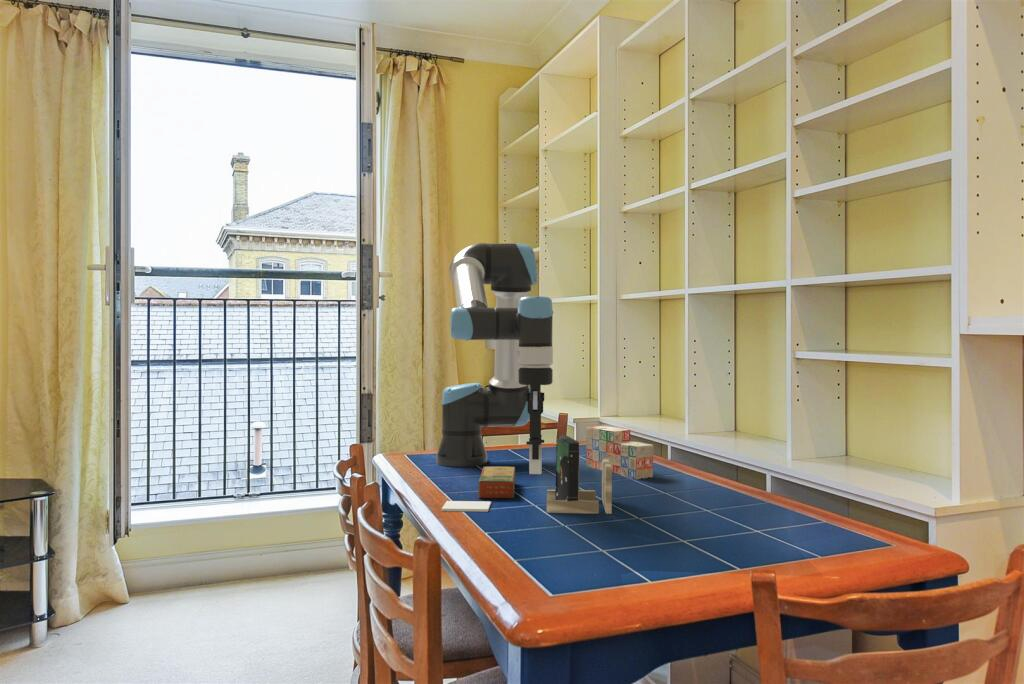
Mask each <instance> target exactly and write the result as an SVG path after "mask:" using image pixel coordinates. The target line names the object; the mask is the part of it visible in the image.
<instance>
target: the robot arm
mask: <svg viewBox="0 0 1024 684" xmlns="http://www.w3.org/2000/svg"><path fill="white" fill-rule="evenodd" d="M449 266H450V267H449V278H450V281H451V283H452V284H453V285H454V292H455V293H454V295H455V301H456V303H455V304H456V307H453V308H452V309H451V310H450V314H449V315H450V316H449V317H450V318H449V320H450V321H449V323H450V324H449V326H450V327H449V328H450V330H449V331H450V337H451V338H452V339H454V340H463V341H466V342H467V341H483V340H484V341H485V340H487V341H491V340H492V341H493V340H494V371H493V372H494V374H493V375H494V376H493V377H491V379H489V381H488V387H483V385H482V384H481V382H472V383H463V384H456V385H450V386H447V387H445V388H444V389H443V390H442V395H441V396H442V397H441V398H442V399H441V405H442V406H441V407H442V409H441V411H442V413H441V414H442V415H441V416H442V417H441V421H442V422H441V439H440V443H439V445H438V450H437V452H436V456H435V461H436V462H435V463H436V464H437V465H440V466H443V467H454V468H456V467H457V468H466V467H467V468H468V467H477V466H482V465H486V464H487V463H488V454H487V450H486V446H485V444H484V440H483V437H482V428H484V427H485V428H487V427H488V428H492V427H493V428H494V427H497V428H498V427H511V428H514V427H524V426H526V425H527V424H528V423H529V438H528V441H526V443H525V444H526V445H528V446H529V447H528V449H529V451H528V453H529V456H528V457H529V458H528V459H529V460H528V462H529V463H528V470H529V471H528V472H529V475H542V473H543V472H542V471H543V470H542V468H543V467H542V462H543V461H542V457H543V456H542V455H543V453H542V452H543V451H542V449H543V448H542V445H543V444H544V443H545V439H543V438H542V437H543V435H542V414H543V413H544V401H545V392H542V391H541V386H549V385H552V384H553V380H554V379H553V368H552V367H551V366H552V365H553V364H554V363H553V362H554V354H553V353H554V351H553V349H554V348H553V315H554V310H553V300H552V298H550V297H548V296H538V295H537V296H535V295H534V296H533V295H532V296H528V295H529V294H530V293H531V292H532V286H535V285H536V284H537V283H538V268H537V267H538V266H537V259H536V255H535V252H534V249H533V248H532V246H531V245H529V244H524V243H516V242H515V243H493V242H492V243H490V242H489V243H486V242H479V243H474V244H471V245H468V246H466V247H464V248H463V249H461V250H460V251H459V252H458V253H457V254H455V256H454V257H453V259H452V260H451V262H450V265H449ZM485 285H490V292H492V293H493V295H494V296H495V307H489V306H488V301H487V300H488V299H487V296H486V290H485Z"/></svg>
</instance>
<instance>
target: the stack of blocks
mask: <svg viewBox="0 0 1024 684" xmlns="http://www.w3.org/2000/svg"><path fill="white" fill-rule="evenodd" d="M585 449H586V450H585V452H586V454H585V456H586V459H585V461H586V462H585V465H586V467H589V468H592V469H595V470H599V471H602V457H607V458H608V460H609V462H610V464H611V466H612V474H614V473H615V475H618V474H619V476H621V475H622V477H625V478H629V477H630V478H629V479H633V478H634V480H642V479H641V478H643V479H649V478H653V477H654V469H653V468H654V444H651V443H645V442H639V441H633V440H631V429H626V428H623V427H622V428H621V427H613V426H612V427H611V426H607V425H606V426H605V425H594V426H587V427H585ZM648 477H649V478H648Z"/></svg>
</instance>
